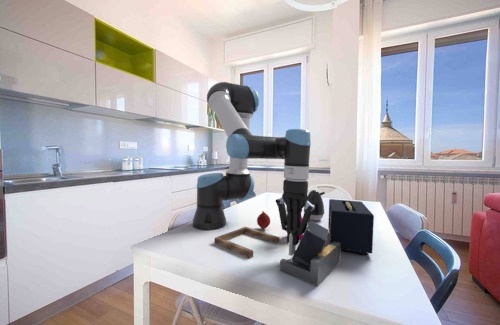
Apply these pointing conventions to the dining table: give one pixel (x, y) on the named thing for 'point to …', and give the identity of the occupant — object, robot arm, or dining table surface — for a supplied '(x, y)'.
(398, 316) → the dining table surface
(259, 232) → the holder
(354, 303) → the dining table surface
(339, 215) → the black toaster
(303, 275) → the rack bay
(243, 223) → the dining table surface
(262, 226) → the onion
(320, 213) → the pump dispenser
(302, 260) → the small box
